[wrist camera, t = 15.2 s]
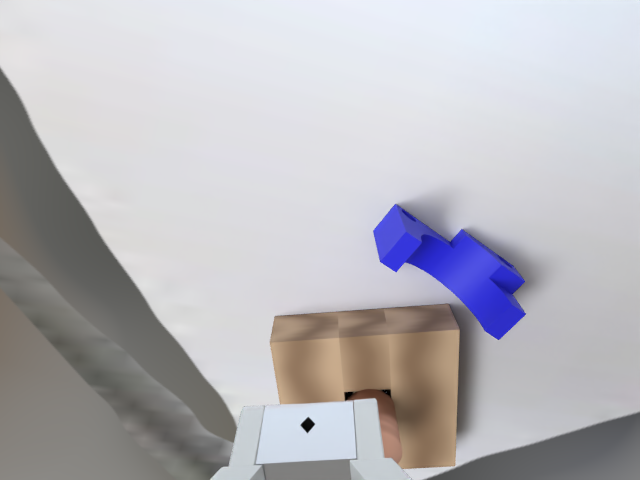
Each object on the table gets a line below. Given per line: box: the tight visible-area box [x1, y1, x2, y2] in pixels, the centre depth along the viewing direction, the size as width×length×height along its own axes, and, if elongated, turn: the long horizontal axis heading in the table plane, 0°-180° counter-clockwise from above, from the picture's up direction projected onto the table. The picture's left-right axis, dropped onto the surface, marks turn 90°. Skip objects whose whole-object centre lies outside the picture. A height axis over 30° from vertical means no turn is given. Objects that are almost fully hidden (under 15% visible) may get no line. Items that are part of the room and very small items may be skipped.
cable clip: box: [373, 204, 526, 340], centre depth 38 cm, size 12×4×6 cm, turn 55°
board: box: [270, 304, 460, 469], centre depth 45 cm, size 16×16×4 cm
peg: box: [346, 389, 402, 464], centre depth 43 cm, size 5×5×8 cm
